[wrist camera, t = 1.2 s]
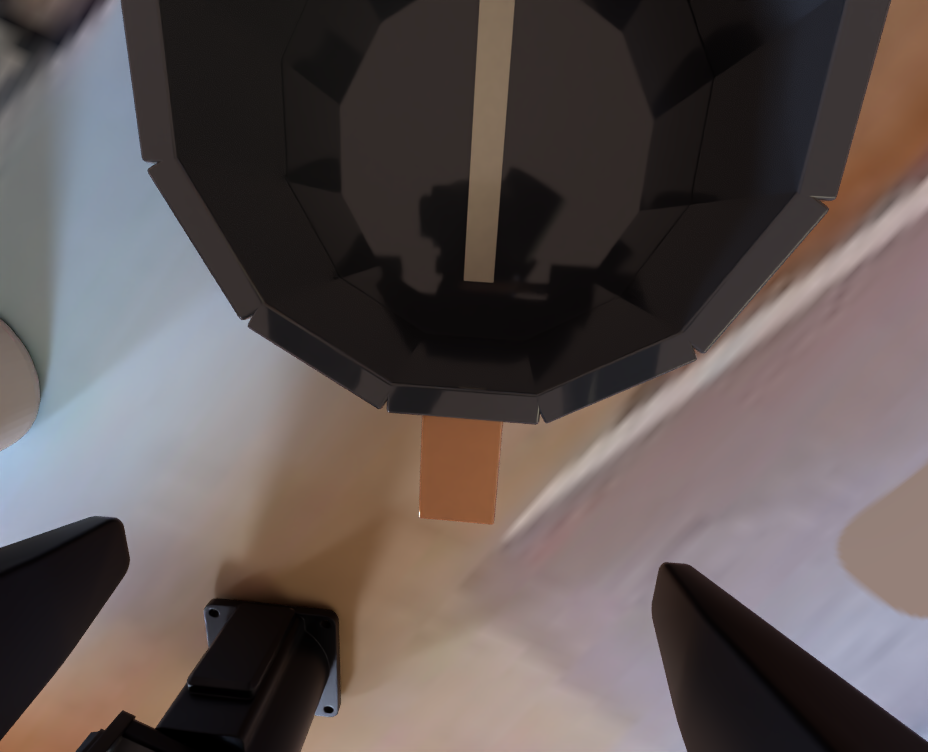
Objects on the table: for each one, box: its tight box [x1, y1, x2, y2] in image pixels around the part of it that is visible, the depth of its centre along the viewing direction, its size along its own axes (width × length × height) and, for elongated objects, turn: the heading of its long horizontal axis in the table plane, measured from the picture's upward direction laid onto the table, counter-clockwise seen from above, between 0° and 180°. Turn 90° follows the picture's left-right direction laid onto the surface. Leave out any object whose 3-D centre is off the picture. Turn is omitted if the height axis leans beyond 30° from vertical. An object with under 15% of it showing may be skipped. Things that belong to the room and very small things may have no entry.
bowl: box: [121, 0, 891, 525], centre depth 13 cm, size 17×14×6 cm
